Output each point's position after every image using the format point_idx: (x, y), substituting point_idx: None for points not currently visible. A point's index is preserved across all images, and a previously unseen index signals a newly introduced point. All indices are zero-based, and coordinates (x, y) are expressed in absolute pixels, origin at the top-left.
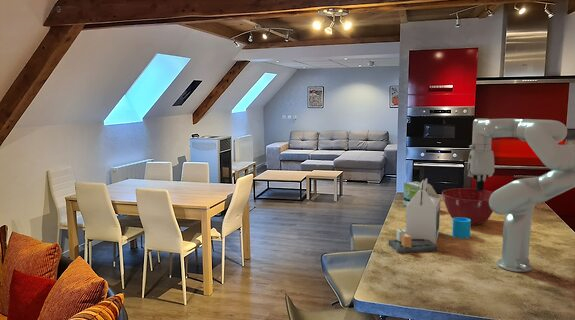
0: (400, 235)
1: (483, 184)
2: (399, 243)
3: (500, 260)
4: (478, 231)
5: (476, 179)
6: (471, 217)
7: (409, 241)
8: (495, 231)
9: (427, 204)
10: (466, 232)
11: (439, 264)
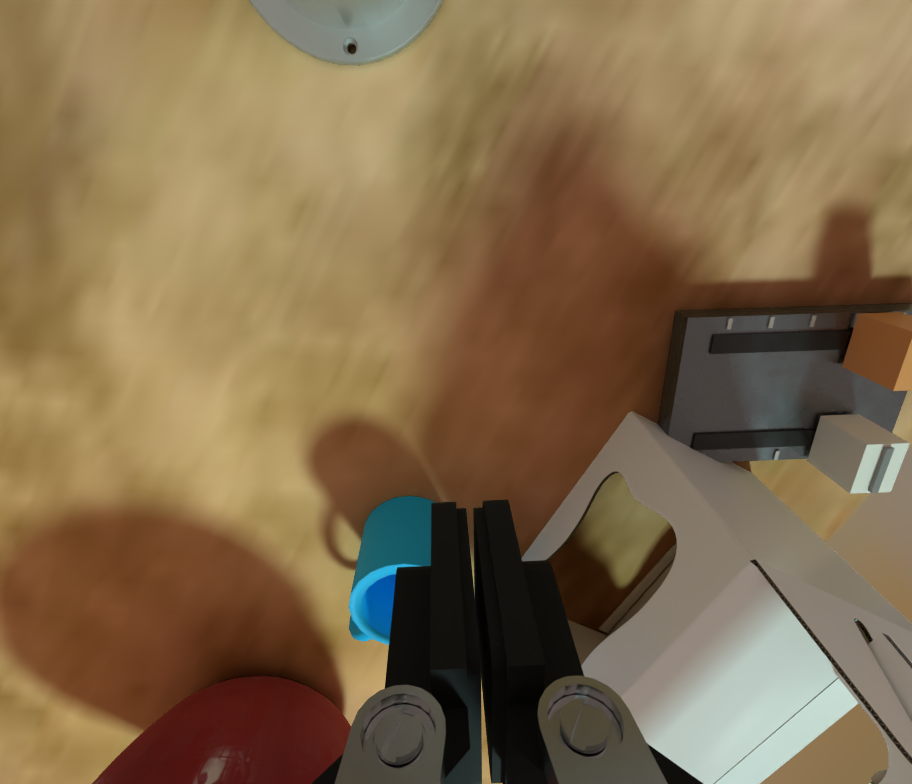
0: (883, 431)
1: (403, 627)
2: (869, 391)
3: (410, 14)
4: (284, 587)
5: (652, 761)
6: (278, 698)
7: (901, 322)
8: (190, 581)
9: (824, 614)
10: (398, 517)
11: (813, 57)
